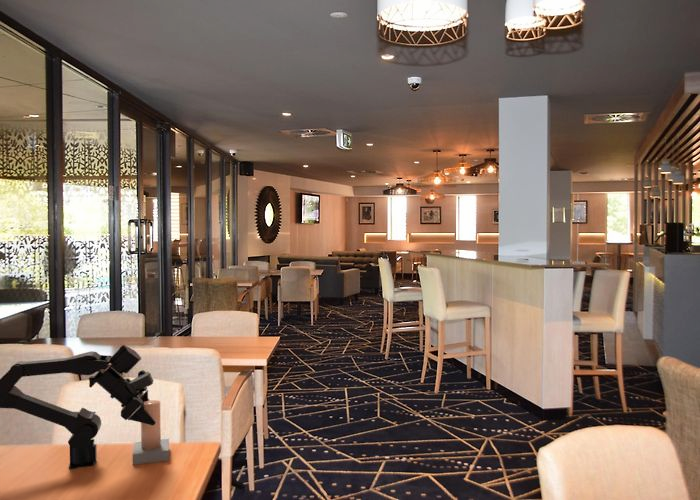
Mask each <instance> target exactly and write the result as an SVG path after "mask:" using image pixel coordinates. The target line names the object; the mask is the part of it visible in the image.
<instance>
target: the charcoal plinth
mask: <svg viewBox="0 0 700 500" xmlns="http://www.w3.org/2000/svg"><path fill="white" fill-rule="evenodd" d="M167 461H170V440H169V438H163V439H162V438H161V446H160V447H158V448H156V449H151V450H145V449H142V448H141V441H134V442H133V449H132V465H140V464H149V463H158V462H159V463H160V462H167Z"/></svg>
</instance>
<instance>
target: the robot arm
mask: <svg viewBox="0 0 700 500" xmlns="http://www.w3.org/2000/svg"><path fill="white" fill-rule="evenodd" d="M141 360H142V357H141V356H140V354H139V353H138V352H137V351H136V350H135V349H132V348H130V347H129V346H127V345H125V344H122V345H121V346H120V347H119V349H117V351H116V352H114V354H113V355H103V354H100V353H98V351H87V352H83V353H79V354H76V355H73V356H70V357H64V358H62V357H61V358H53V359H42V360H41V359H40V360H31V361H29V360H28V361H21V360H20V361H17V362H16V363H15V364H14V363H13V365H11V366H10V369H9V370H7V372H6V373H5V374H3V375H2V376H1V377H0V409H13V410H18V411H20V412H23V413H26V414H29V415H32V416H34V417H36V418H39V419H42V420H45V421H47V422H50V423H53V424H56V425H58V426H61V427H64V428H65V429H66V430H67V431H68V432H69V433H70V434H72V435H71V436H70V438H69V439H68V441H67V443H68V446H69V464H68V469H74V468H85V467H92V466H94V465H95V462H96V461H97V458H98V457H97V455H98V453H97V450H98V449H97V443H96V444H95V437H96V436H97V435H98V433H99V431H100V429H101V427H102V419H101V417H100V416H99V415H98V414H96V411H90V410H89V409H86V408H84V407H82V408H80V409H79V411H71V410H69V409H66V408H64V407H61V406H58V405H56V404H53V403H50V402H47V401H44V400H42V399H40V398H37V397H34V396H31V395H29V394H26V393H24V392H23V391H22V390H21V389H19V388H18V387H17V386H16V384H17V383H18V382H19V381H20V379H21V378H24V377H34V376H43V375H45V376H46V375H56V374H71V375H72V374H73V375H77V376H79V375H81V376H89V377H88V381H89V383H88V384H89V385H88V386H89V388H92V387H94V386H95V384H96V383H97V385H99V386H100V387H101V388H102V389H104V390H105V391H106V392H107V393H108V394H110V396H109V397H110V398H111V399H115V400H116V401H118V402H119V403H120V407H121V410H120V417H121V418H122V419H123V420H125V421H127V420H128V421H132V422H136V423H137V422H139V423H141V422H142V423H145V424H149V425H154V424H155V423H156V422H155V421H154V419H153V418H152V417H151V416H150V415H149V413H148V412H147V411H146V410H145V406H144V402H145V401H151V400H150V399H149V390H148V387H150V386H152V385H153V384H154V378H153V377H152V374H151V372H150V371H145V370H144V369H142V370H140V371H138V372H137V376H136V377H135V378H134V379H132V380H131V379H130V378H129V377H128V378H127V377H126V378H125V377H123V376H122V375H123V374H124V373H125V374H128V373H129V372H130V371H131V370H132V369H133V368H134V367H135V366H137V364H138V363H139V362H140V361H141ZM107 366H108V367H107ZM97 371H98V372H97ZM95 373H96V374H95ZM94 374H95V375H94ZM91 375H92V376H91ZM142 402H143V403H142Z"/></svg>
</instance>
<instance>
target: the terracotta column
mask: <svg viewBox="0 0 700 500" xmlns="http://www.w3.org/2000/svg"><path fill="white" fill-rule="evenodd" d="M142 403H143V402H142ZM144 406H145V410H146V411H147V412H148V413H149V415H150V416H151V417H152V418H153V419H154V421H155V422H156V423H155V424H154V425H149V424H145V423H142V422H140V439H141V441H140V442H141V448H142V449H145V450H151V449H156V448H158V447H160V446H161V440H162V436H161V435H162V434H161V431H162V429H161V401H160V400H156V399H155V400H153V399H152V400H150V401H145V402H144Z"/></svg>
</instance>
